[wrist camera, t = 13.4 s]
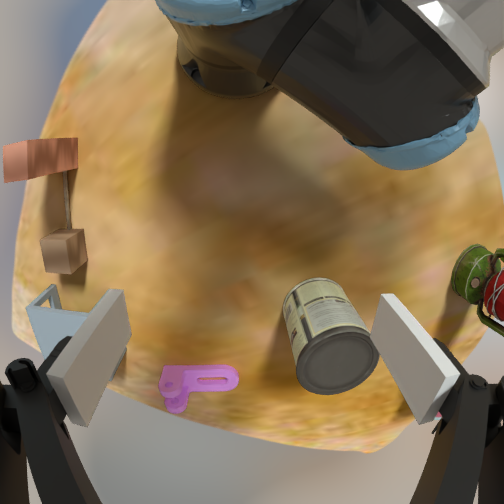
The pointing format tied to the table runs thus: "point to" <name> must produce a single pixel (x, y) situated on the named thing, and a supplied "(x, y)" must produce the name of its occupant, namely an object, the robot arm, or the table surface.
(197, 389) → the bracket
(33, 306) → the box
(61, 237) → the reddish brown block
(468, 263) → the lantern
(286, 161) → the table surface
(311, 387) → the coffee can
